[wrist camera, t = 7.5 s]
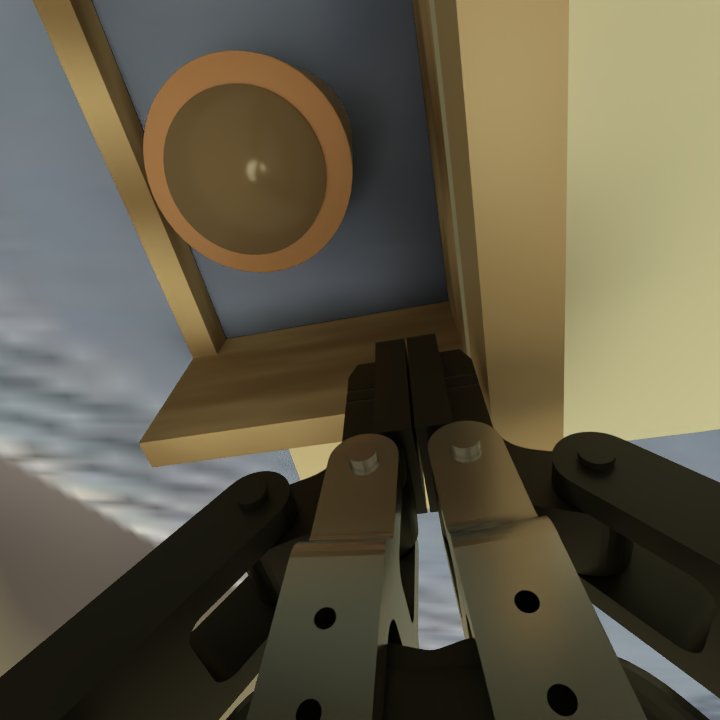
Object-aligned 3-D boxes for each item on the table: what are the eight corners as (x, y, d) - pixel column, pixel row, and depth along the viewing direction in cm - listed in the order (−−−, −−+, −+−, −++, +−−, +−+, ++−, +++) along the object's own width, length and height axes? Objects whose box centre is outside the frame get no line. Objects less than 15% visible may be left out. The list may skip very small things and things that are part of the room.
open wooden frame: (5, -121, 15) (-266, -256, 9) (1014, -456, 12) (1808, -1111, 5) (212, 363, 25) (152, 467, 18) (809, 265, 21) (999, 352, 14)
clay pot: (191, 76, 18) (97, 80, 12) (342, 38, 17) (321, 22, 11) (242, 228, 21) (187, 292, 15) (373, 201, 20) (369, 257, 14)
